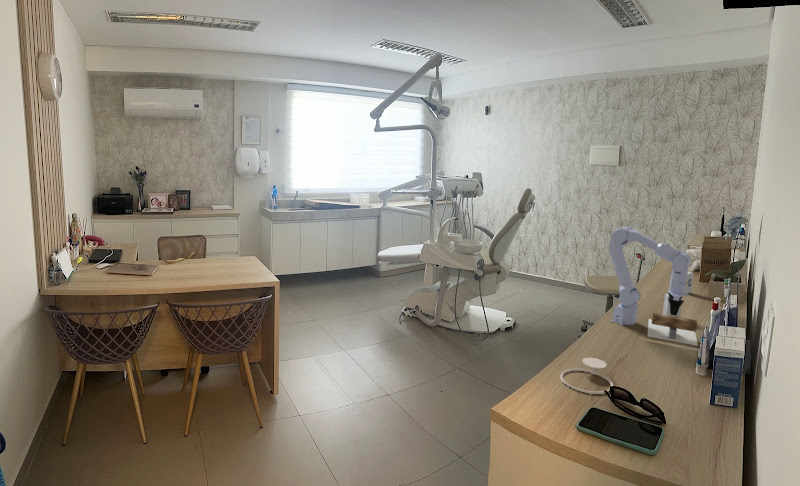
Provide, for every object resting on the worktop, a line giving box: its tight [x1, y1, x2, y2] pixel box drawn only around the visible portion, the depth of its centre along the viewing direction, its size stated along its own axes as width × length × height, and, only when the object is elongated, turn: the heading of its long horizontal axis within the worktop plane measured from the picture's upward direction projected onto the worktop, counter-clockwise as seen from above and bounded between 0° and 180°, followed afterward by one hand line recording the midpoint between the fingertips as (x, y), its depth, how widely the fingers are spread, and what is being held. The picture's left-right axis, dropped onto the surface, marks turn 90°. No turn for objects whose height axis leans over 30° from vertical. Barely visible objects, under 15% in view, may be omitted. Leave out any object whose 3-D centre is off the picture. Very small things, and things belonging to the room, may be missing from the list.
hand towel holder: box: [559, 357, 615, 395], centre depth 160 cm, size 17×4×21 cm
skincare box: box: [662, 293, 684, 318], centre depth 220 cm, size 6×4×12 cm
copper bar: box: [652, 312, 698, 333], centre depth 198 cm, size 16×3×4 cm, turn 62°
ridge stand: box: [646, 318, 698, 348], centre depth 203 cm, size 24×18×5 cm
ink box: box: [685, 271, 695, 295], centre depth 265 cm, size 9×5×12 cm, turn 25°
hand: (673, 312), depth 200 cm, fingers open, 7 cm apart
